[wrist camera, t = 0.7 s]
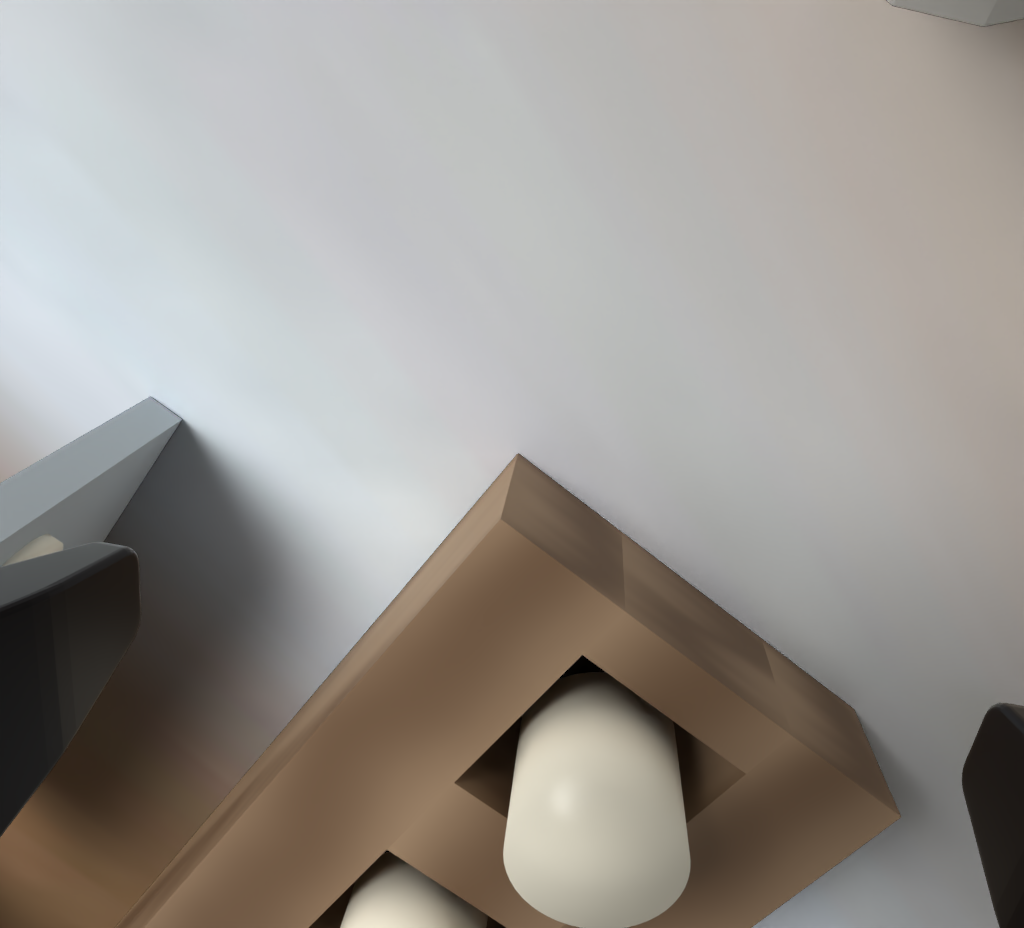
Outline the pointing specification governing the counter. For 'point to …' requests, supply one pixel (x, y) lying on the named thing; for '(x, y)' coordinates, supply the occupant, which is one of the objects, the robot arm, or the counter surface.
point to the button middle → (406, 900)
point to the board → (496, 726)
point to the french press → (968, 9)
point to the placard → (81, 484)
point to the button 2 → (596, 807)
